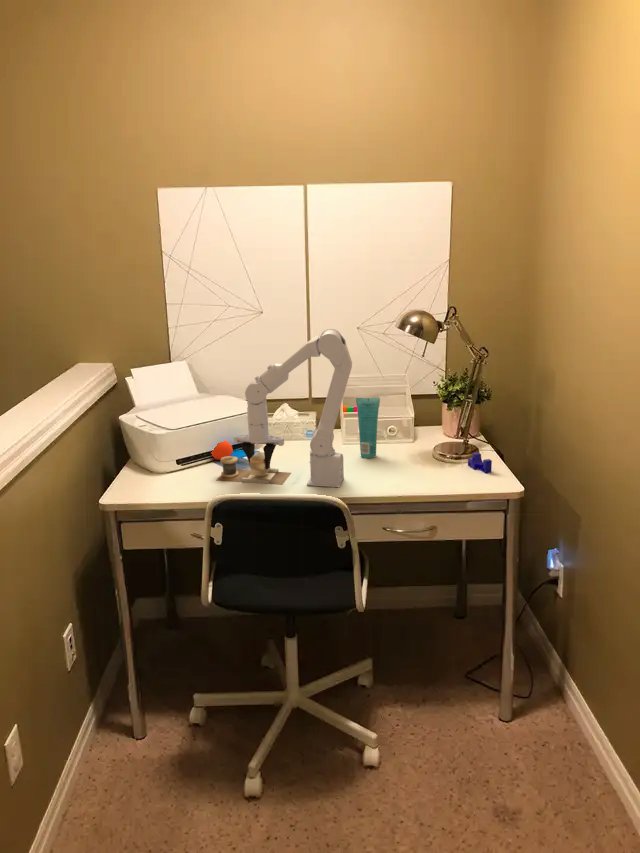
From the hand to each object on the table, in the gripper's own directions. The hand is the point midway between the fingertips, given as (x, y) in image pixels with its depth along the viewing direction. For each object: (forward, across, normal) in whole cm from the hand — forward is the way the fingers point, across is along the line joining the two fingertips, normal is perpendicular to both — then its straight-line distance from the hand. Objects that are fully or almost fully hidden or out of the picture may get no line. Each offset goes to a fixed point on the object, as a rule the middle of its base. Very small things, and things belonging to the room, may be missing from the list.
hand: (260, 467), depth 214 cm
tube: (+5, -27, -28) cm, 39 cm away
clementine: (+5, +18, -15) cm, 24 cm away
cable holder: (+5, -62, -22) cm, 66 cm away
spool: (+3, +10, 0) cm, 10 cm away
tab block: (+2, 0, 0) cm, 2 cm away
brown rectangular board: (+4, +2, 0) cm, 5 cm away
